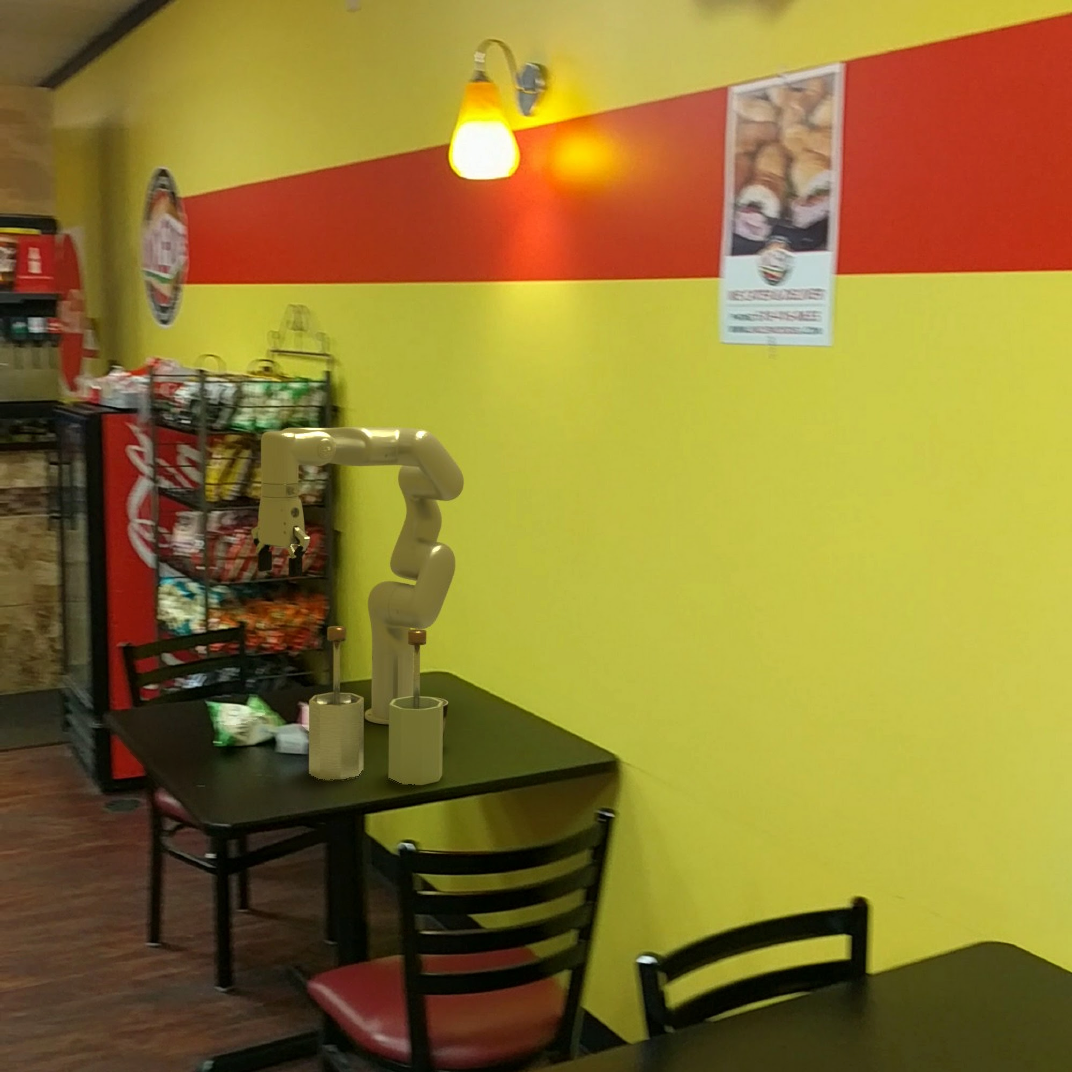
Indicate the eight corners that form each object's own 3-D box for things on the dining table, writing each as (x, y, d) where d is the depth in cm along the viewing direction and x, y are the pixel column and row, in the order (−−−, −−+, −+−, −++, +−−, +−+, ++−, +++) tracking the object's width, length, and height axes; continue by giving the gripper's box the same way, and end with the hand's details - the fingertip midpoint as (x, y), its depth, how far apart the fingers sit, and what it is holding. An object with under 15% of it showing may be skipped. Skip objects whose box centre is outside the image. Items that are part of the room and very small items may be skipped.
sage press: (395, 767, 267) (396, 695, 264) (444, 770, 266) (445, 697, 264) (385, 783, 257) (386, 708, 255) (436, 786, 256) (437, 710, 254)
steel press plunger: (322, 706, 265) (322, 623, 263) (359, 707, 264) (360, 624, 262) (312, 716, 257) (312, 630, 255) (350, 718, 257) (351, 632, 254)
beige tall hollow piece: (318, 763, 268) (318, 691, 266) (366, 765, 267) (367, 694, 265) (305, 779, 258) (305, 704, 256) (355, 781, 257) (355, 707, 255)
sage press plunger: (400, 709, 264) (401, 626, 261) (438, 711, 263) (439, 628, 261) (393, 720, 256) (394, 634, 254) (431, 722, 255) (433, 636, 253)
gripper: (321, 493, 268) (321, 576, 270) (267, 487, 279) (267, 566, 281) (293, 496, 262) (293, 581, 264) (238, 489, 273) (239, 570, 275)
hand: (280, 573), depth 273 cm, fingers open, 9 cm apart
